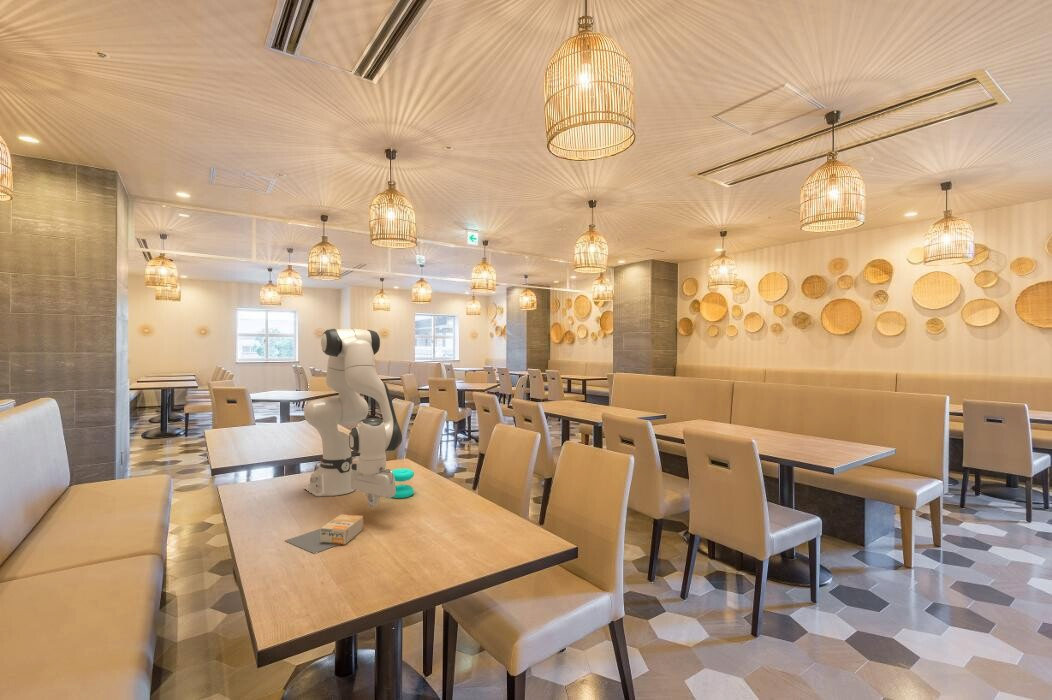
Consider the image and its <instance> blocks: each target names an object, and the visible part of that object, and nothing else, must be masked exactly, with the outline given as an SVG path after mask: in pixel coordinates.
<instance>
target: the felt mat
mask: <svg viewBox="0 0 1052 700" xmlns="http://www.w3.org/2000/svg"><path fill="white" fill-rule="evenodd" d="M320 532H321V528H318V529H316V530H312V531H309V532H306V533H303V534H300V535H297V536H294V537H292V538H288V539H286V540H284V542H286V543H289V544H291V545H293V546H295V547H297V548H299V547H300V548H299V549H301V550H304V551H306V550H307V552H308V551H309V553H311V552H312V553H311V554H313V553H316V552H318V553H321V552H324V551H326V550H329V549H331V547H332V548H335V547H337V546H340V545H339V544H333V543H321V542H320ZM355 539H356V537H353V538H352V539H351V541H353V540H355ZM334 546H335V547H334ZM323 550H324V551H323ZM320 551H321V552H320ZM316 554H317V553H316Z"/></svg>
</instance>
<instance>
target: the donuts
mask: <svg viewBox="0 0 1052 700" xmlns="http://www.w3.org/2000/svg"><path fill="white" fill-rule="evenodd" d="M391 472H392V473H393V475H394V478H395V482H399V483H400V482H407V481H409V480H411V479H413V478H414V475H415V473H414V472H415V471H413V469H410V468H396V469H393V470H391ZM395 486H396V494H395V495H394V496H393V497H392V498H393V499H394V498H395V499H405V498H408V497H409V498H410V497H412V496H413V495H414V492H415V489H414V487H412V486H411V485H410V484H396V485H395Z"/></svg>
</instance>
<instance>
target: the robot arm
mask: <svg viewBox="0 0 1052 700" xmlns="http://www.w3.org/2000/svg"><path fill="white" fill-rule="evenodd" d="M320 346H321V350H322V352H323V354H325V355H326V356H328V361H327V369H326V377H325V378H326V379H325V383H326V385H327V387H328V388H329V389H331V390H332V391H334V392H336V393H338V397H331V398H327V397H326V398H319V399H315V400H310V401H309V402H307V404H306V405H305V407H304V411H303V416H304V419H305V421H306V422H307V424H309V426H312V427H314V429H316V430H317V432H318V434H319V435H320V437H321V442H322V445H321V446H322V458H319V462H320V464H319V467H318V468H317V469H316V470H315V471H313V472H312V473H311V474H310V477H309V484H307V485H305V486H303V490H305V489H306V490H307V491H306V490H305V491H306V492H308V491H309V492H308V493H309V494H311V493H312V494H311V495H313V496H315V497H327V496H328V497H331V496H332V497H333V496H341V495H346V494H349V493H352V492H354V491H358V492H362V493H365V497H366V500H367V505H368V506H369V507H373V508H376V507H378V506H379V505H378V504H379V499H380V497H381V498H384V499H389V498H393V496H394V495H395V494H396V486H397V485H396V481H395V478H394V475H393V473H392V472H391V471H392V470H391V469H387V454H386V452H392V451H393V452H394V451H395V450H397V449H398V447H400V445H401V444H402V441H403V435H402V430H401V427H400V425H399V424H400V423H398V419H397V416H396V412H395V409H394V408H395V407H394V405H393V401H392V398H391V397H392V396H391V393H390V389H389V387H388V385H387V383H386V382H385V381H382V380H381V378H380V377H379V374H378V372H377V366H376V360H375V355H376V354H377V353H378V352H379V350H380V348H381V347H380V346H381V337H380V335H379V334H378V332H377V331H375V330H371V329H361V328H338V329H336V328H329V329H326V330H325V331H324V332H322V336H321V339H320ZM361 395H364V396H367V397H370V398H372V399H374V400H375V401H376V403H378V405H379V409H380V413H381V416H382V419H381V418H376V417H369V418H367V416H368V414H369V411H370V410H369V404H368V402H367V400H366V399H365V398H364V397H362V396H361ZM357 422H360V425H358V426H356V427H353V429H351V431H349V434H347V433H345V432H343V431H340V430H339V429H338V425H341V424H351V423H352V424H353V423H357ZM352 451H353V452H355V453H359V458H358V461H356V462H353V456H352Z"/></svg>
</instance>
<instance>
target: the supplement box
mask: <svg viewBox="0 0 1052 700" xmlns="http://www.w3.org/2000/svg"><path fill="white" fill-rule="evenodd" d="M364 518H365V517H364V515H354V514H351V515H350V514H339V515H337V516H336V517H334V518H333V519H332V520H330V521H329V522H328V523H326V524H324V525H323V526H322V527H320V529H321V532H320V542H321V543H333V544H340V545H346V544H347V543H348V542H350V540H351V539H352V538H353V537H354V538H356V536H357V535H359V533H361V532H362V531H363V530H364V521H365V520H364ZM351 541H352V540H351Z"/></svg>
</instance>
